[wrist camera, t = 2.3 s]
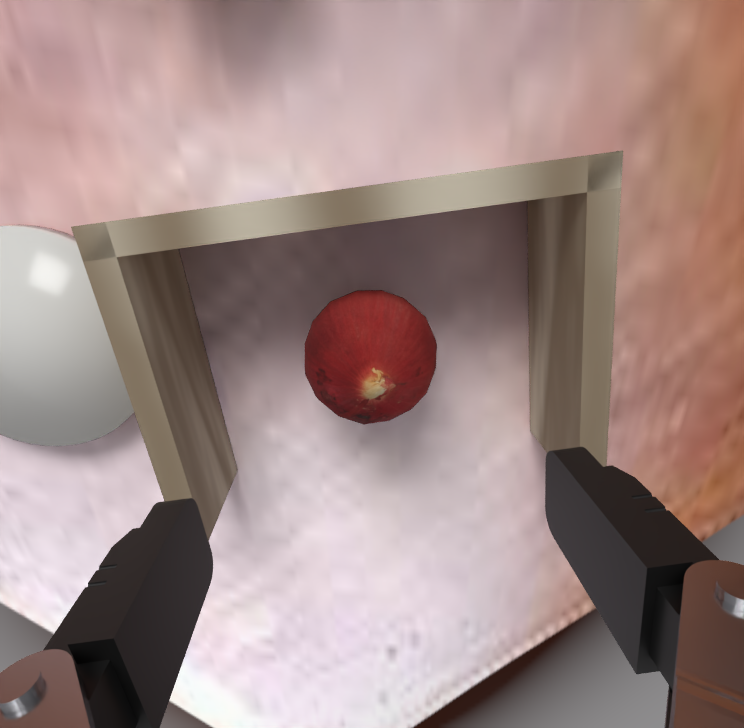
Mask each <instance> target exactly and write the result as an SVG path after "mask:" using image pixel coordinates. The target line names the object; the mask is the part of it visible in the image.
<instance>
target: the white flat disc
mask: <svg viewBox="0 0 744 728" xmlns="http://www.w3.org/2000/svg"><path fill="white" fill-rule="evenodd" d="M133 413H134V410H133V407H132V404H131V401H130V398H129V395H128V392H127V389H126V386H125V383H124V381H123V378H122V375H121V372H120V369H119V366H118V363H117V360H116V357H115V354H114V351H113V348H112V345H111V342H110V339H109V337H108V334H107V331H106V328H105V325H104V322H103V319H102V316H101V313H100V310H99V307H98V304H97V301H96V298H95V295H94V293H93V290H92V287H91V284H90V281H89V278H88V275H87V272H86V269H85V266H84V263H83V260H82V257H81V254H80V251H79V249H78V246H77V243H76V240H75V237H74V236H72V235H69V234H67V233H64V232H60V231H57V230H54V229H50V228H45V227H40V226H33V225H7V226H0V435H3V436H6V437H8V438H11V439H14V440H17V441H21V442H25V443H29V444H36V445H43V446H68V445H76V444H81V443H86V442H89V441H92V440H95V439H98V438H100V437H102V436H104V435H106V434H108V433H110V432H112V431H113V430H115V429H116V428H117V427H119V426H120V425H121V424H122V423H124V422H125V421H126V420H127V419H128V418H129V417H130V416H131V415H132V414H133Z"/></svg>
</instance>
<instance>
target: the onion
mask: <svg viewBox="0 0 744 728" xmlns="http://www.w3.org/2000/svg"><path fill="white" fill-rule="evenodd" d="M436 349H437V344H436V340H435V337H434V335H433V333H432V330H431V328H430V326H429V324H428V321H427V319H426V317H425V316H424V315H423V314H421V313H420V312H419V311H418V310H417V309H416V308H415V307H413V306H412V305H411V304H410V303H409V302H408V301H407V300H406V299H404V298H402V297H399V296H396V295H394V294H391V293H388V292H385V291H382V290H365V291H355V292H353V293H350V294H348V295H345V296H343V297H340V298H338V299H336V300H333V301H331V302H329V304H328V305H327V306H326V307H325V308H324V309H323V310H322V311H321V313H320V314H319V315H318V316H317V317H316V318H315V319H314V320H313V322H312V325H311V327H310V330H309V333H308V336H307V339H306V342H305V374H306V376H307V379H308V381H309V383H310V385H311V387H312V389H313V391H314V393H315V396H316V397H317V398H318V399H319V400H320V401H321V402H322V403H323V404H325V405H326V406H327V407H328V408H329V409H331V410H332V411H333V412H334V413H335V414H337V415H338V416H340V417H343V418H346V419H349V420H352V421H355V422H358V423H361V424H369V423H376V422H382V421H389V420H391V419H393V418H395V417H397V416H399V415H401V414H403V413H405V412H407V411H409V410H411V409H412V408H413V407H414V406H415V405H416V404H417V403H418V402H419V401H420V399H421V398H422V397H423V396H424V395H425V394H426V393H427V391H428V388H429V385H430V382H431V380H432V377H433V374H434V371H435V368H436Z"/></svg>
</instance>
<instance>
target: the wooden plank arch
mask: <svg viewBox="0 0 744 728" xmlns="http://www.w3.org/2000/svg"><path fill="white" fill-rule="evenodd" d="M622 161H623V151H616V152H609V153H602V154H595V155H588V156H580V157H573V158H566V159H559V160H551V161H544V162H537V163H530V164H522V165H515V166H508V167H501V168H493V169H486V170H479V171H472V172H465V173H457V174H450V175H443V176H436V177H428V178H421V179H414V180H407V181H399V182H392V183H385V184H378V185H371V186H363V187H356V188H349V189H342V190H334V191H327V192H320V193H313V194H305V195H298V196H291V197H284V198H276V199H269V200H262V201H255V202H248V203H240V204H233V205H226V206H219V207H211V208H204V209H197V210H190V211H182V212H175V213H168V214H161V215H154V216H146V217H139V218H132V219H125V220H117V221H110V222H103V223H96V224H88V225H81V226H74V227H71V228H72V231H73V234H74V237H75V240H76V243H77V246H78V249H79V251H80V254H81V257H82V260H83V263H84V266H85V269H86V272H87V275H88V278H89V281H90V284H91V287H92V290H93V293H94V295H95V298H96V301H97V304H98V307H99V310H100V313H101V316H102V319H103V322H104V325H105V328H106V331H107V334H108V337H109V339H110V342H111V345H112V348H113V351H114V354H115V357H116V360H117V363H118V366H119V369H120V372H121V375H122V378H123V381H124V383H125V386H126V389H127V392H128V395H129V398H130V401H131V404H132V407H133V410H134V413H135V416H136V419H137V422H138V425H139V427H140V430H141V433H142V436H143V439H144V442H145V445H146V448H147V451H148V454H149V457H150V460H151V463H152V466H153V469H154V471H155V474H156V477H157V480H158V483H159V486H160V489H161V492H162V495H163V498H164V501H172V500H180V499H187V498H192V499H194V500H195V501H196V503H197V506H198V509H199V512H200V515H201V518H202V522H203V525H204V528H205V532H206V535H207V538H208V541H209V538H210V536H211V533H212V531H213V528H214V526H215V524H216V521H217V519H218V516H219V514H220V511H221V509H222V507H223V504H224V502H225V499H226V497H227V494H228V492H229V490H230V487H231V485H232V482H233V480H234V477H235V475H236V472H237V466H236V463H235V459H234V455H233V451H232V448H231V444H230V440H229V436H228V433H227V429H226V425H225V422H224V418H223V414H222V410H221V407H220V403H219V399H218V395H217V392H216V388H215V384H214V381H213V377H212V373H211V369H210V366H209V362H208V358H207V354H206V351H205V347H204V343H203V340H202V336H201V332H200V328H199V325H198V321H197V317H196V313H195V310H194V306H193V302H192V298H191V295H190V291H189V287H188V284H187V280H186V276H185V272H184V269H183V265H182V261H181V257H180V254H179V250H178V249H179V248H187V247H194V246H201V245H208V244H216V243H223V242H230V241H237V240H245V239H252V238H259V237H266V236H274V235H281V234H288V233H295V232H303V231H310V230H317V229H324V228H332V227H339V226H346V225H354V224H361V223H368V222H375V221H383V220H390V219H397V218H404V217H412V216H419V215H426V214H433V213H441V212H448V211H455V210H462V209H470V208H477V207H484V206H491V205H499V204H506V203H513V202H520V201H527V216H528V295H529V374H530V431H531V432H532V434H533V435H534V436H535V438H536V439H537V440H538V442H539V443H540V444H541V446H542V447H543V448H544V450H545V451H546V452H547V453H548V452H549V451H552V450H560V449H567V448H575V447H584V448H586V449H587V450H588V451H589V452H590V453H591V454H592V455H593V456H594V457H595V459H596V460H597V461H598V462H599V463H600V464H601V465H602V466H603V467H605V466H606V463H607V444H608V425H609V406H610V387H611V369H612V350H613V331H614V312H615V293H616V274H617V255H618V236H619V218H620V199H621V180H622Z"/></svg>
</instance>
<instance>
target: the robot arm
mask: <svg viewBox="0 0 744 728" xmlns="http://www.w3.org/2000/svg"><path fill="white" fill-rule="evenodd" d="M545 509H546V517H547V521H548V525H549V528H550V531H551V533H552V535H553V537H554V539H555V541H556V542H557V544H558V546H559V547H560V549H561V550H562V552H563V554H564V555H565V557H566V559H567V560H568V562H569V564H570V565H571V567H572V569H573V570H574V572H575V574H576V575H577V577H578V579H579V580H580V582H581V584H582V585H583V587H584V589H585V590H586V592H587V593H588V595H589V597H590V598H591V600H592V602H593V603H594V605H595V607H596V608H597V610H598V612H599V613H600V615H601V617H602V618H603V620H604V622H605V623H606V625H607V626H608V628H609V630H610V632H611V633H612V635H613V636H614V638H615V640H616V641H617V643H618V645H619V646H620V648H621V650H622V651H623V653H624V655H625V656H626V658H627V660H628V661H629V663H630V664H631V666H632V668H633V670H634V671H635V673H636V674H641V673H649V672H656V671H660V672H661V674H662V675H663V677H664V678H665V680H666V681H667V683H668V684H669V690H668V697H667V707H666V718H665V728H744V565H741V564H738V563H733V562H729V561H721V560H719V559H718V558H717V557H716V556H715V555H714V554H713V553H712V552H711V551H710V550H709V549H708V548H707V547H706V546H705V545H703V543H702V542H701V541H699V540H698V539H697V538H696V537H695V536H694V535H693V534H692V533H691V532H690V531H689V530H688V529H687V528H686V527H685V526H684V525H683V524H682V523H681V522H680V521H679V520H678V519H677V518H676V517H675V516H674V515H673V514H672V513H671V512H670V511H669V510H668V511H666V509H665V506H664V505H663V504H662V503H661V502H660V501H659V500H658V499H657V498H656V497H652V494H651V493H650V492H649V491H648V490H647V489H646V488H645V487H644V486H643V485H642V484H641V483H640V482H639V481H638V480H637V479H636V478H635V477H633V476H631V475H629V474H627V473H625V472H624V471H622V470H620V469H618V468H616V467H614V466H605V467H603V466H602V465H601V464H600V463H599V462H598V461H597V460H596V459H595V457H594V456H593V455H592V454H591V453H590V452H589V451H588V450H587V449H586V448H584V447H575V448H567V449H560V450H552V451H549V452H548V453H547V455H546V491H545ZM212 573H213V558H212V552H211V548H210V545H209V542H208V538H207V535H206V532H205V528H204V525H203V522H202V518H201V515H200V512H199V509H198V506H197V503H196V501H195V500H194V499H192V498H187V499H180V500H172V501H165V502H158V503H156V504H155V505H154V506H153V508H152V509H151V511H150V513H149V514H148V516H147V517H146V519H145V521H144V522H143V524H142V525H141V527H140V528H136V529H132V530H131V531H130V532H129V533H128V534H126V535H125V536H124V537H123V538H122V539H121V540H120V541H118V542H117V543H116V544H115V545H114V546H113V547H112V548H111V550H110V551H109V553H108V554H107V556H106V557H105V559H104V560H103V562H102V563H101V565H100V566H99V570H97V571H96V572H95V574H94V575H93V577H92V578H91V580H90V581H89V582H88V587H86V588H84V590H83V591H82V593H81V594H80V596H79V597H78V599H77V600H76V602H75V603H74V605H73V606H72V608H71V609H70V611H69V612H68V614H67V615H66V617H65V618H64V620H63V621H62V623H61V624H60V626H59V627H58V629H57V630H56V632H55V633H54V635H53V636H52V638H51V639H50V641H49V642H48V644H47V646H46V647H45V648H44V650H43V651H40V652H37V653H34V654H32V655H29V656H27V657H25V658H23V659H21V660H19V661H17V662H16V663H14V664H13V665H11V666H9V667H8V668H7V669H5V670H4V671H2V672H1V673H0V728H160V725H161V722H162V719H163V716H164V713H165V710H166V708H167V705H168V702H169V699H170V696H171V693H172V691H173V688H174V685H175V682H176V679H177V676H178V674H179V671H180V668H181V665H182V662H183V659H184V657H185V654H186V651H187V648H188V645H189V642H190V640H191V637H192V634H193V631H194V628H195V625H196V623H197V620H198V617H199V614H200V611H201V608H202V606H203V603H204V600H205V597H206V594H207V591H208V589H209V586H210V583H211V579H212Z"/></svg>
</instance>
